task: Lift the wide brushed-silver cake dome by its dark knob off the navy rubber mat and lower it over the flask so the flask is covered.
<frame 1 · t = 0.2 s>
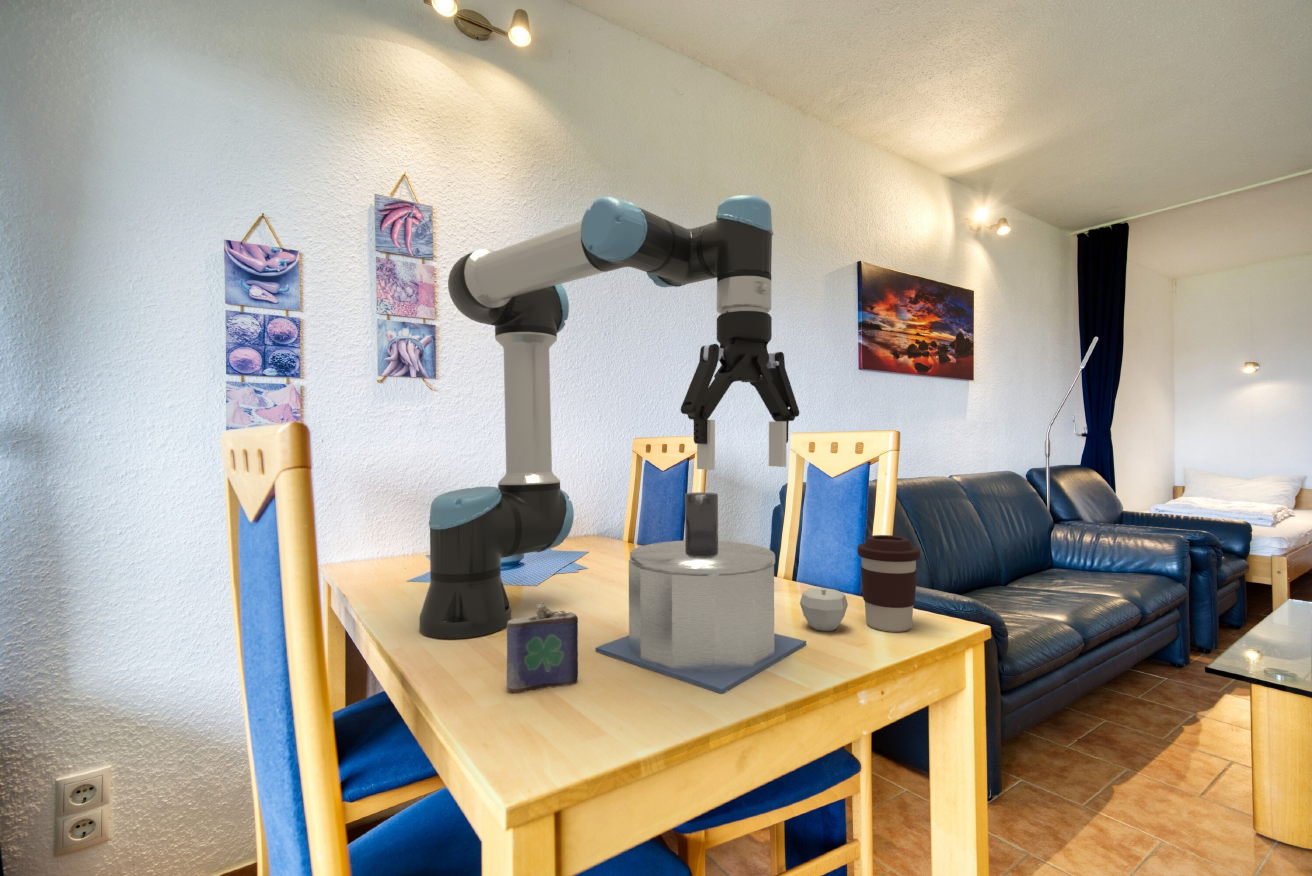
hand: (743, 468, 82), 28 cm above the table, fingers open, 13 cm apart
flask: (542, 687, 77), on the table
grey faceted round piece: (823, 629, 100), on the table
mat: (702, 648, 91), on the table
coffee cup: (888, 627, 101), on the table
cake dome: (702, 644, 91), point 1 cm above the table, touching mat
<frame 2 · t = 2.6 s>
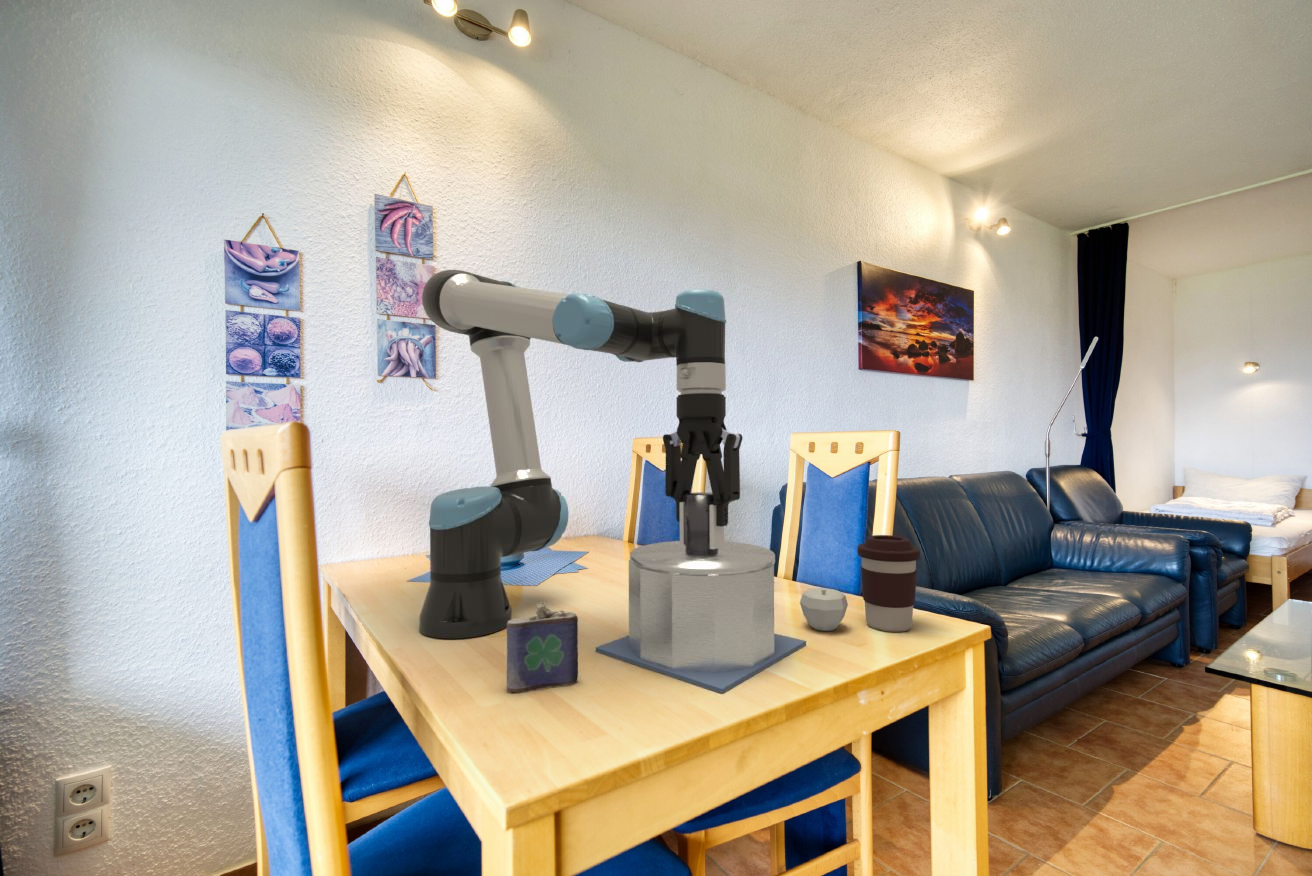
hand: (701, 545, 91), 16 cm above the table, fingers closed on cake dome, 5 cm apart
cake dome: (702, 644, 91), point 1 cm above the table, touching gripper, mat
everything else where it was.
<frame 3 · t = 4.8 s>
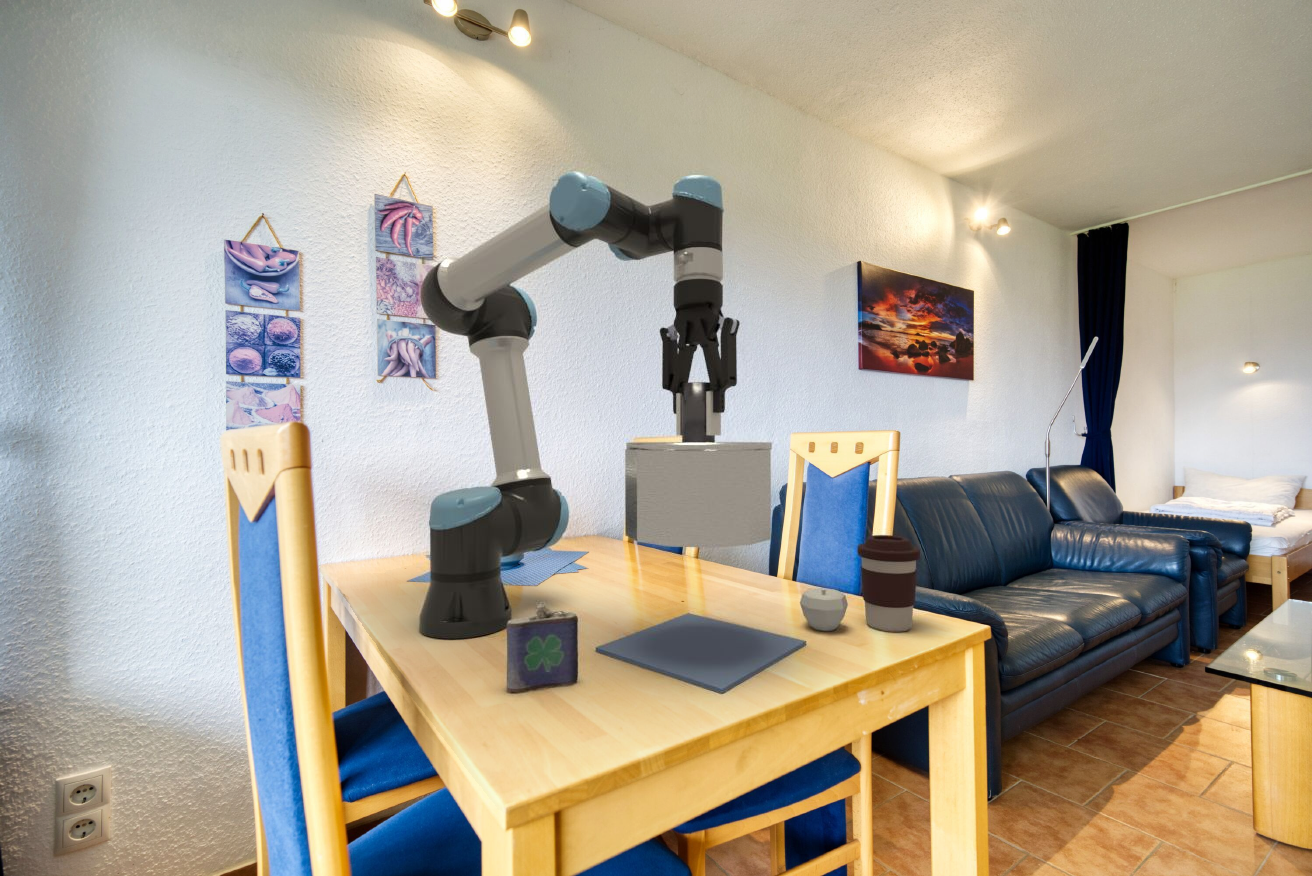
hand: (698, 435, 90), 33 cm above the table, fingers closed on cake dome, 5 cm apart
cake dome: (698, 534, 90), point 17 cm above the table, touching gripper
everything else where it was.
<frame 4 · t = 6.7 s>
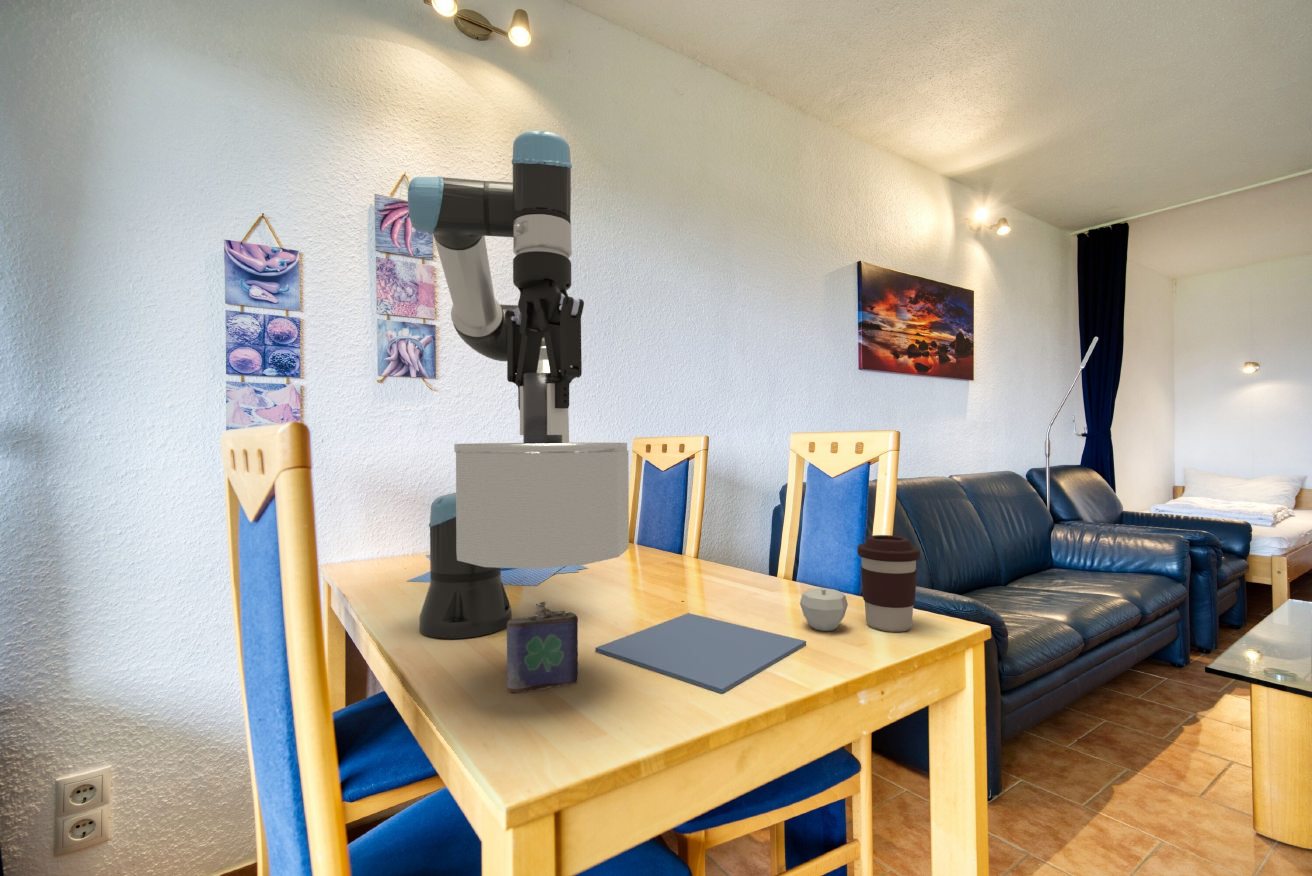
hand: (543, 434, 78), 33 cm above the table, fingers closed on cake dome, 5 cm apart
cake dome: (543, 550, 78), point 18 cm above the table, touching gripper
everything else where it was.
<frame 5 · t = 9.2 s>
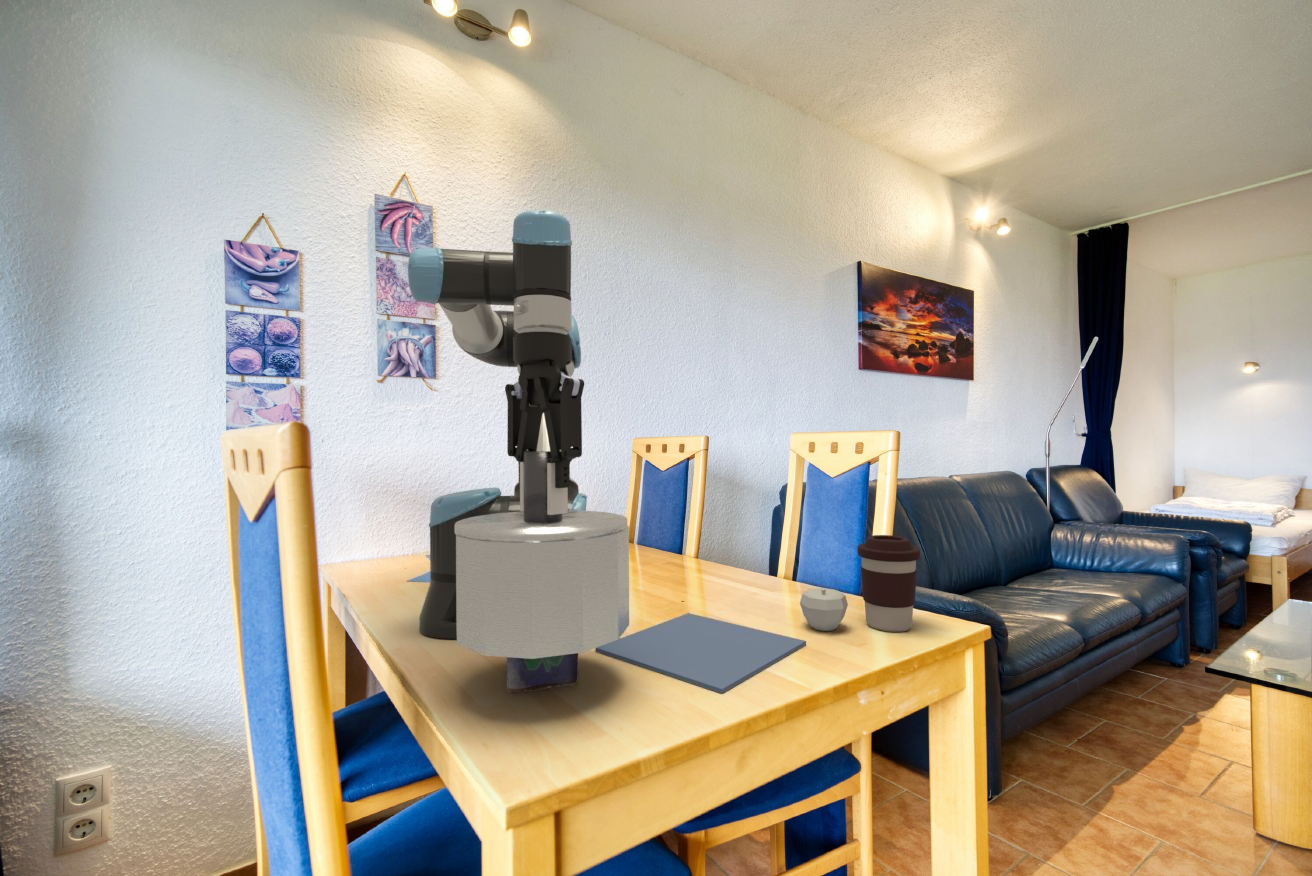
hand: (543, 511, 77), 23 cm above the table, fingers closed on cake dome, 5 cm apart
cake dome: (543, 627, 77), point 7 cm above the table, touching gripper
everything else where it was.
when the fingers open (17 cm above the table, at t = 11.0 s): cake dome drops 2 cm, on the table.
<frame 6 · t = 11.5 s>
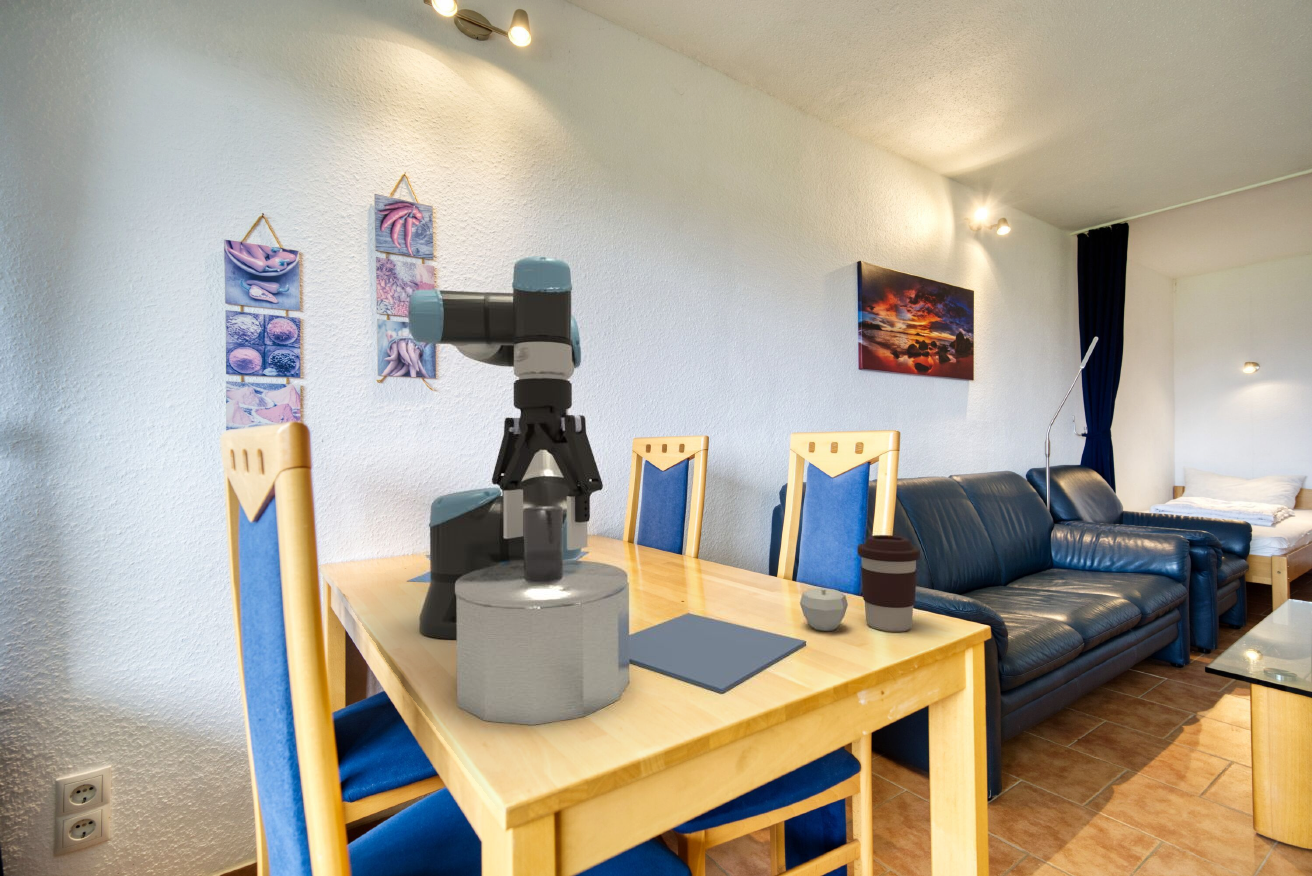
hand: (543, 542, 78), 19 cm above the table, fingers open, 12 cm apart
cake dome: (544, 683, 78), on the table
everything else where it was.
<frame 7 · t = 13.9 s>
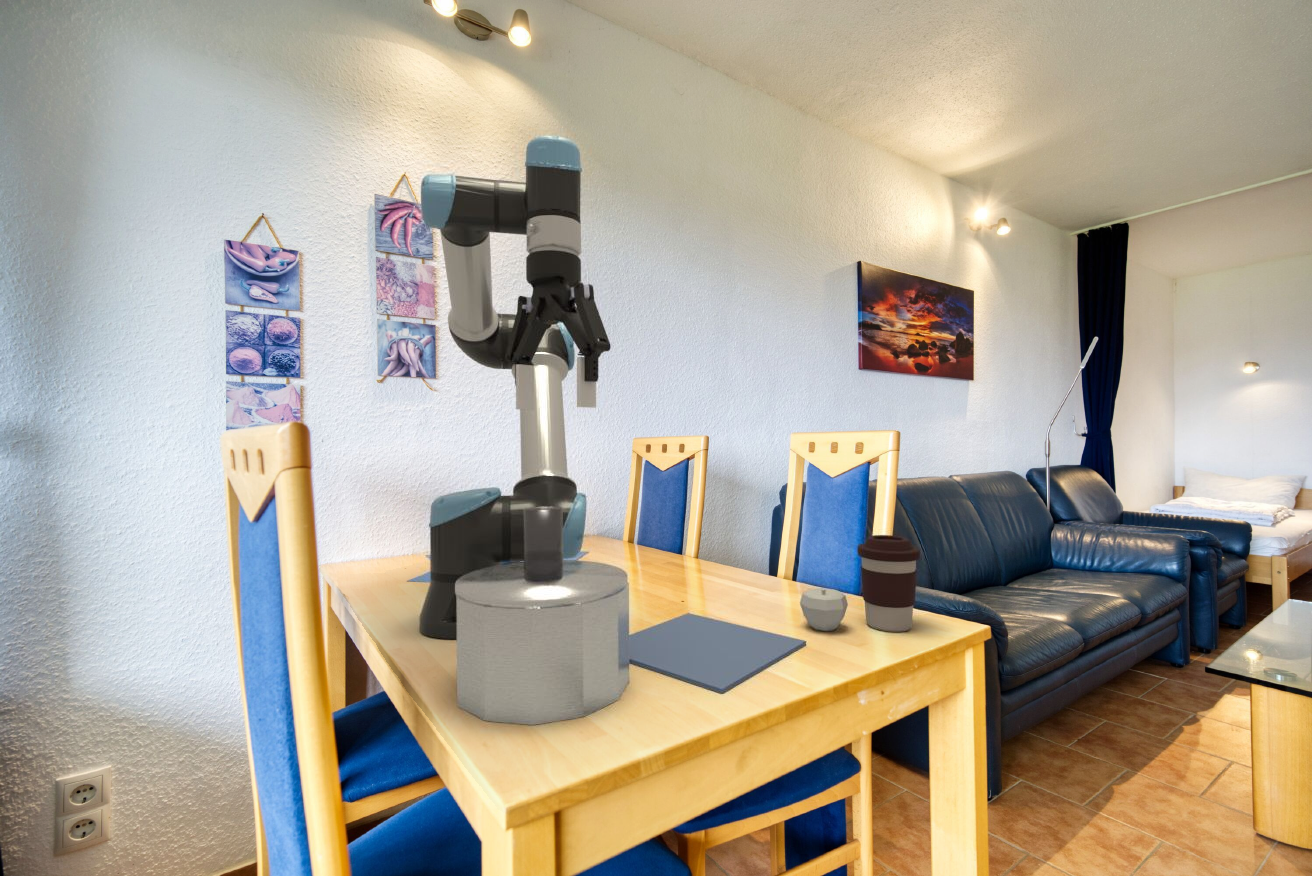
hand: (554, 408, 83), 36 cm above the table, fingers open, 13 cm apart
nothing on the table moved.
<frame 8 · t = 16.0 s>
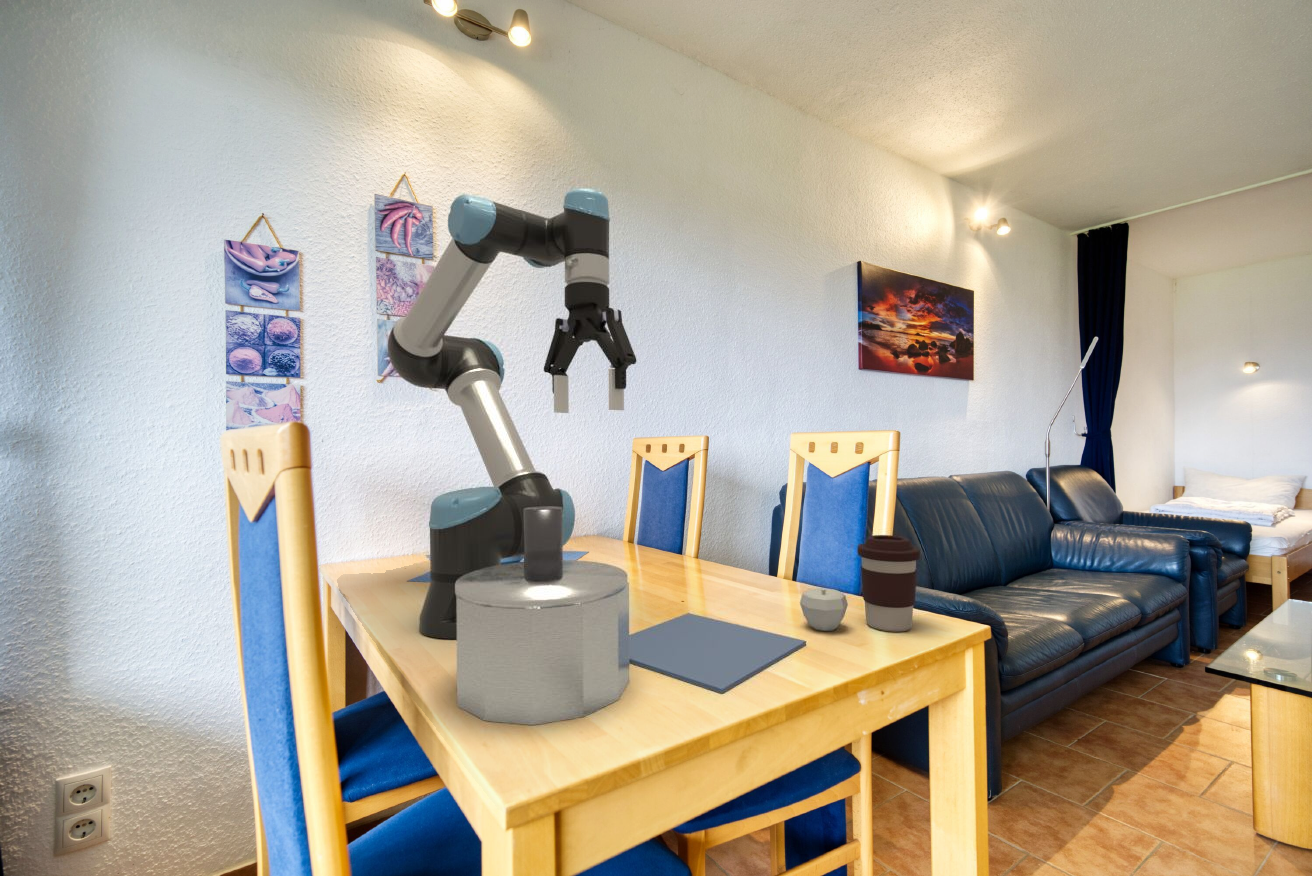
hand: (587, 411, 100), 37 cm above the table, fingers open, 13 cm apart
nothing on the table moved.
at the end: cake dome 0.4 cm from the flask (horizontally); cake dome on the table; cake dome touching table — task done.
